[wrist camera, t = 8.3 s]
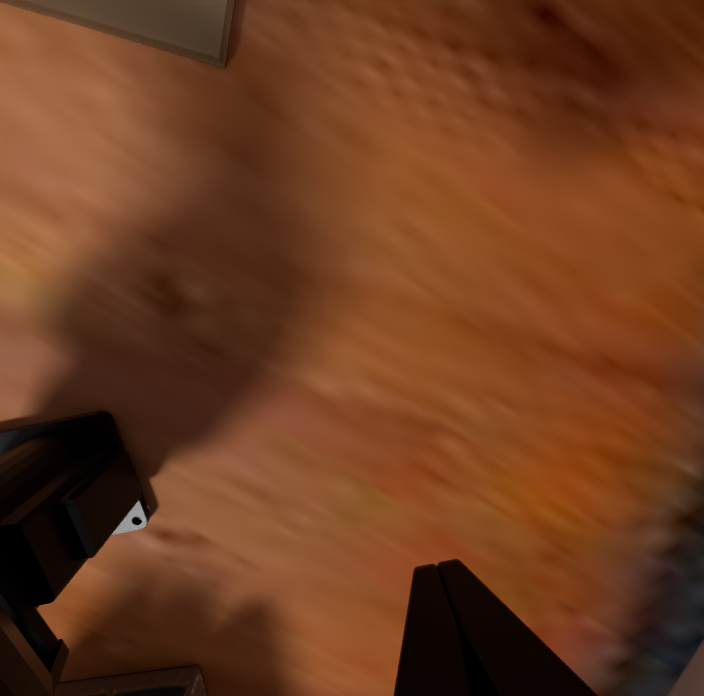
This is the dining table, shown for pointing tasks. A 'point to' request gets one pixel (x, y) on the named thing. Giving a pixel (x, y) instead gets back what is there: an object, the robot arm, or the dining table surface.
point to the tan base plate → (151, 22)
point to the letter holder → (139, 684)
